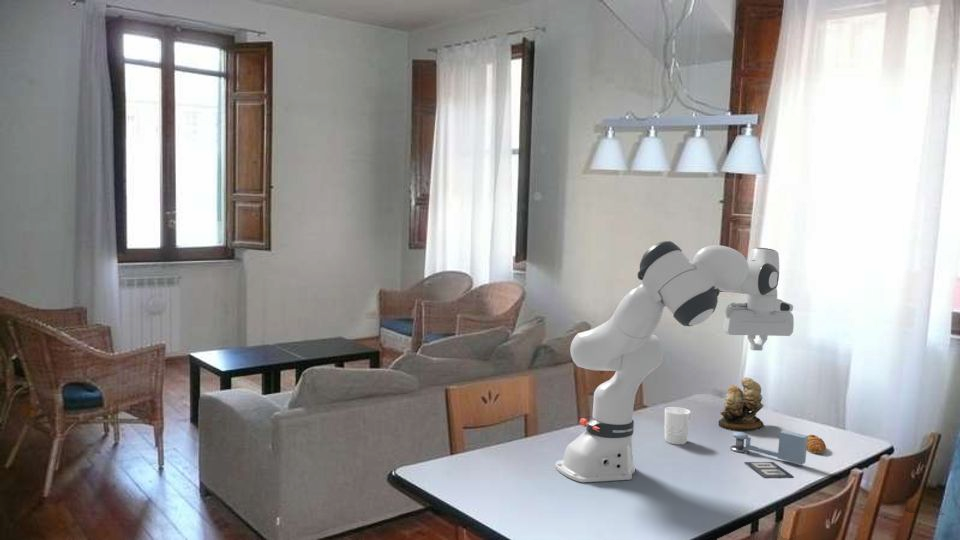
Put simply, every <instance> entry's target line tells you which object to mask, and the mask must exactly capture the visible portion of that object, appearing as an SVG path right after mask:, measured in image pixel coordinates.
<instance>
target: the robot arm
mask: <svg viewBox="0 0 960 540" xmlns="http://www.w3.org/2000/svg"><path fill="white" fill-rule="evenodd" d="M639 263H640V264H639V271H638V272H637V279H638V280H640V281H642V282H641V284H640V285H638V286H637V287H635V288H633V289H631V290H630V291H629V292H628V293H627V294H626V295H624V297H623V298H622V299H621V300H620V302H619V303H618V305H617V306H616V309H615V310H614V312H613V314H612V315H611V317H610V318H609V319H608V320H607V321H605V322H604V323H602V324H599V325H598V326H596V327H594V328H592V329H588V330H586V331H582V332H578V333H577V334H576V335H575V336H574V337H573V339H572V340H571V344H570V347H569V348H570V356H571V357H570V358H571V359H572V361H573V363H574V364H575V365H576V366H577V367H578V368H581V369H582V368H583V369H587V370H591V371H603V372H604V371H607V372H608V371H610V372H611V371H613V372H615V373H614V375H613V376H612V377H611V378H610V379H609V380H606V381H604V382H603V383H600V384H599V385H598V386H597V387H596V388H595V391H594V392H593V401H592V402H593V404H592V405H593V406H592V415H591V416H590V418H589V420H588V419H586V418H584V417H582V418H580V420H579V424H580V426H583V427H585V429H586V430H585V431H583V433H581V434H580V435H579V436H577V437H576V438H575V439H574V440H572V441H571V442H570V443H568V444H567V446H566V447H565V451H564V456H563V459H561V460H556V461H555V465H554V466H555V469H556V470H557V471H558V472H559V473H561V474H562V475H564V476H565V477H567V478H568V479H571V480H572V481H573V480H574V481H576V482H580V483H593V482H598V483H599V482H610V481H611V482H612V481H626V480H628V481H629V480H632V479H633V474H634V473H635V472H636V468H635V463H634V456H633V441H632V440H633V439H632V438H633V435H634V429H635V428H634V427H635V421H634V419H633V417H634V416H633V415H634V407H635V400H636V396H637V395H636V394H637V392H638V389H639V387H640V385H641V383H642V382H643V380H644V379H645V378H646V377H647V376H648V375H649V374H650V373H651V372H653V371H654V370H656V369H657V368H658V367H659V366H660V365H661V363H662V361H663V360H664V359H663V358H664V352H665V351H664V346H663V343H662V342H661V340H660V338H659V337H658V336H657V335H656V334H653V333H654V332H655V331H656V329H657V328H658V326H659V324H660V322H661V319H662V315H663V312H664V309H665V307H666V308H667V309H668V310H669V312H670V313H671V314H673V316H672V317H673V318H674V319H675V320H676V321H677V322H678V323H679V324H681V325H682V326H684V327H693V326H695V325H700V324H702V323H704V322H705V321H706V320H707V321H708V319H709V318H710V317H711V316H712V314H713V313H714V312H715V310H716V308H717V305H718V303H719V302H718V301H719V300H718V296H719V295H720V293H722V292H723V293H732V294H733V293H734V294H743V295H744V300H743V301H744V302H732V303H730V304H728V305H727V306H726V308H725V317H724V320H723V321H724V322H723V326H722V327H723V332H724V333H725V334H727V335H730V336H747V340H748V342H749V343H750V348H749V349H750V350H751V351H763V349H764V345H765V343H766V342H767V340H768V336H771V337H773V336H774V337H775V336H776V337H779V336H780V337H790V336H791V335H792V334H793V333H794V326H795V325H794V322H795V321H794V320H795V319H794V315H793V313H792V312H793V310H794V305H793V304H791V303H789V302H786V301H783V300H782V299H779V298H778V290H777V289H778V288H777V287H778V285H779V279H780V256H779V252H778V251H777V250H776V249H774V248H773V249H772V248H767V247H754V248H751V250H750V253H749V256H748V259H746V257H745V256H744V255H743V254H742V253H741V252H740V251H738V250H737V249H734V248H732V247H729V246H726V245H721V244H720V245H719V244H717V245H716V244H714V245H708V246H704V247H703V248H701V249H699V250H698V251H697V252H696V253H695V255H694V257H693V258H692V261H691V260H690V259H689V257H687V256H686V255H685V254H684V253H683V250H682V248H681V247H679V245H677V244H675V243H674V241H673V242H672V241H669V240H667V241H666V240H665V241H660V242H658V243H656V244H654V245H652V246H651V247H650V248H648V249H647V250H646V251H645V252H644V254H643V255H642V257H641V260H640V262H639ZM756 336H758V337H759V341H758V342H757V343H756V342H755V340H756Z"/></svg>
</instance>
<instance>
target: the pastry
mask: <svg viewBox="0 0 960 540" xmlns="http://www.w3.org/2000/svg"><path fill="white" fill-rule="evenodd" d="M807 436H808V439H807V450H806V452H809V453H812V454H821V455H822V454H824V453H826V450H827V446H826V442H825V441H824V440H823V438H821V437H819V436H817V435H815V434H808V435H807Z"/></svg>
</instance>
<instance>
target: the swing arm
mask: <svg viewBox="0 0 960 540" xmlns="http://www.w3.org/2000/svg"><path fill="white" fill-rule="evenodd" d="M732 437H733V438H735V439H736V438H738V439H744V440H745V446H744V447H745V449H748V451H753V452H756V453H760V454H764V455H767V456H772V457H774V458H775V457H776V458H777V459H779V460H783V461H787V462H789V463H794V464H797V465H801V466H802V465H804V464H805V463H806V460H807V439H808V435H807V434H804V433H803V434H802V433H797V432H793V431H790V430H789V431H788V430H785V429H782V430H781V431H779V438H778V439H779V440H778V450H777V451H775V450H771V449H766V448H763V447H759V446H755V445H751V439H752V437H751V436H749V434H748V433H746V432H744V431H734V432H733V433H732Z"/></svg>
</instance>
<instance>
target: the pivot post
mask: <svg viewBox="0 0 960 540" xmlns="http://www.w3.org/2000/svg"><path fill="white" fill-rule="evenodd" d="M744 445H745V439H738V438H735V445H731V446H730V450H731V451H732V452H735V453H740V454H745V453H746V452H747V453H749V450H748V449H745V447H746V446H744Z"/></svg>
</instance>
